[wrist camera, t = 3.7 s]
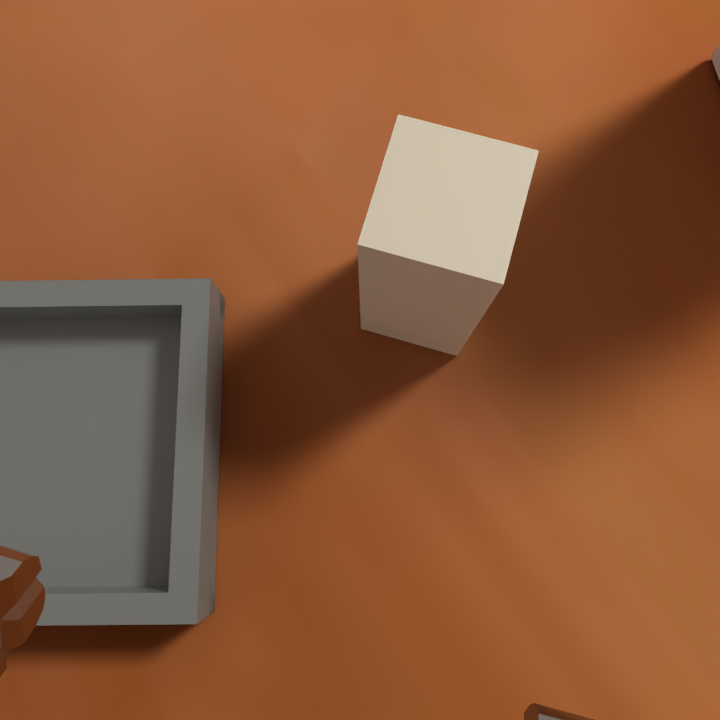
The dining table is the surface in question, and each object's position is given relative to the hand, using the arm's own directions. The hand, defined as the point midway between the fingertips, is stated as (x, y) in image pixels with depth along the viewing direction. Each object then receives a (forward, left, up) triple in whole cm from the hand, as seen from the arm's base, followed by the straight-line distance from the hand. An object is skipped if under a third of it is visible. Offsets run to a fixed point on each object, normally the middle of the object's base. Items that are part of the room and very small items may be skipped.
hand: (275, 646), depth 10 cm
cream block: (+10, -4, -14) cm, 18 cm away
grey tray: (+4, +10, -14) cm, 18 cm away
